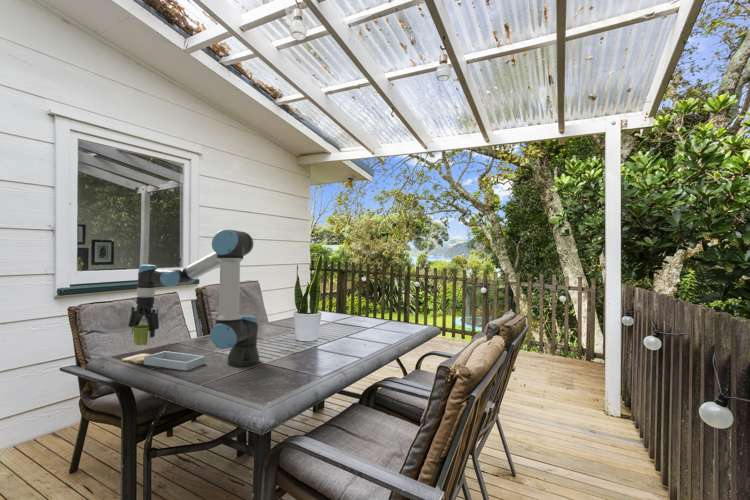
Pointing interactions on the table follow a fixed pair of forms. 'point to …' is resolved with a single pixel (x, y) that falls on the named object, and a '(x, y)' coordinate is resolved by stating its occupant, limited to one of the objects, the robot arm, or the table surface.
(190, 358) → the pale blue tray
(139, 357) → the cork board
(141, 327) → the plant pot
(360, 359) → the table surface
